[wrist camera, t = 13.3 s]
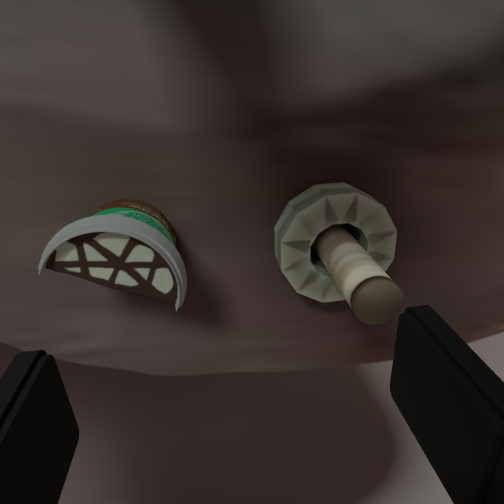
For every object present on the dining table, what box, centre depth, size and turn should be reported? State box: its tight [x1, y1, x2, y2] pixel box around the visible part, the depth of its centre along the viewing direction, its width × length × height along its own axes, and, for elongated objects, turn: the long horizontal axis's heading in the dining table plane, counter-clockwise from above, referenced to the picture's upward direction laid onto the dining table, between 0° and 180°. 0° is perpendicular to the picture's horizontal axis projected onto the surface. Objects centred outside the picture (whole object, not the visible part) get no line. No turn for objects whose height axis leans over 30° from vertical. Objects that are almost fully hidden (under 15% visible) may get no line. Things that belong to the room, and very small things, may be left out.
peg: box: [312, 224, 404, 325], centre depth 37 cm, size 4×4×14 cm
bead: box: [274, 182, 397, 302], centre depth 41 cm, size 12×12×4 cm
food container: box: [38, 199, 187, 312], centre depth 35 cm, size 12×6×10 cm, turn 68°
